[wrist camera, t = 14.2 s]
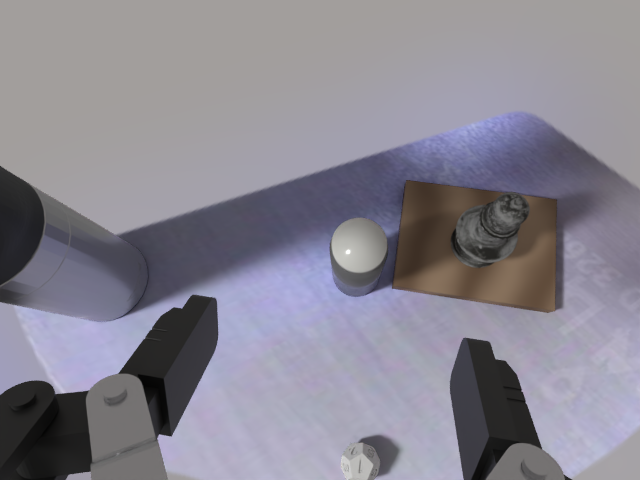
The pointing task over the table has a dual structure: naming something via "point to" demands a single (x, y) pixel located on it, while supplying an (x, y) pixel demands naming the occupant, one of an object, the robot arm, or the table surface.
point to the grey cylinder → (358, 256)
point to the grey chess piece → (489, 230)
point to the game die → (360, 462)
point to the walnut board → (464, 281)
